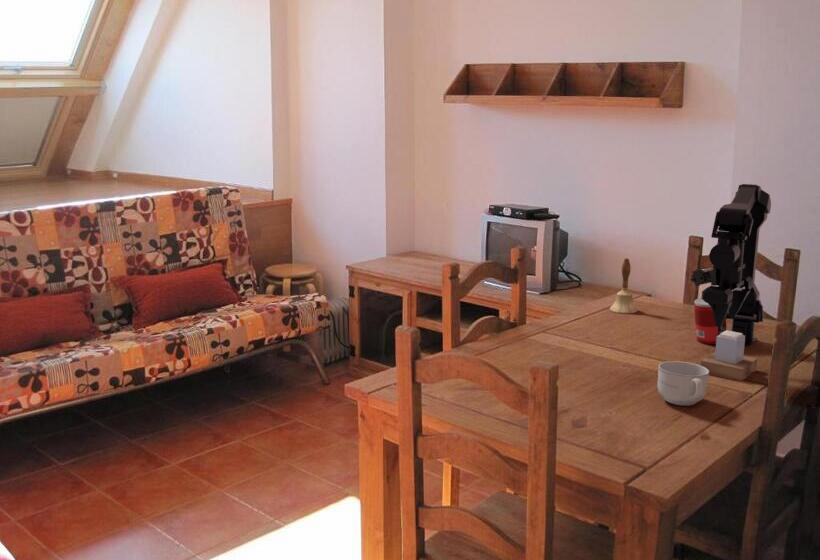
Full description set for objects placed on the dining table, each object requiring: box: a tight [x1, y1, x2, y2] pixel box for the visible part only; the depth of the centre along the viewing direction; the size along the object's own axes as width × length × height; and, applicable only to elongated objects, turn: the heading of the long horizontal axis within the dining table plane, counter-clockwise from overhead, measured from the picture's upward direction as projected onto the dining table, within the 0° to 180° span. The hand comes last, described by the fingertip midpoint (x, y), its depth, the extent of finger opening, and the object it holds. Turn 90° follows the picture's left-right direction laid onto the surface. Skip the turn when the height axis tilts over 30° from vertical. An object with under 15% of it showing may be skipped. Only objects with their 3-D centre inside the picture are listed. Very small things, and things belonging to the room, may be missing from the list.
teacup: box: [656, 360, 710, 406], centre depth 200 cm, size 14×11×8 cm
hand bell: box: [609, 258, 639, 315], centre depth 273 cm, size 8×8×16 cm
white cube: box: [714, 329, 745, 364], centre depth 219 cm, size 5×5×7 cm
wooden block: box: [700, 351, 758, 382], centre depth 221 cm, size 10×10×4 cm
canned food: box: [693, 297, 727, 345], centre depth 243 cm, size 8×8×11 cm
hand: (725, 322), depth 220 cm, fingers open, 9 cm apart
